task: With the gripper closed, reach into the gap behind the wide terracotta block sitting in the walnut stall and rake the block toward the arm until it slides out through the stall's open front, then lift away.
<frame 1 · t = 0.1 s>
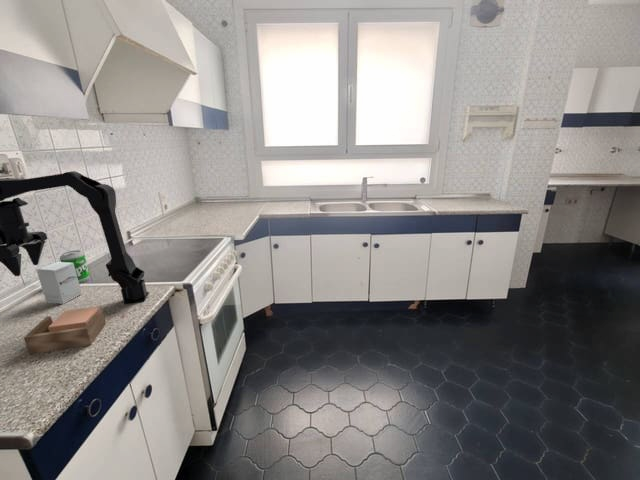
hand: (27, 270, 96), 15 cm above the counter, tool pointing down, fingers open, 9 cm apart
supplement box: (65, 299, 109), on the counter
soda can: (79, 281, 123), on the counter
terracotta block: (78, 329, 91), on the counter
walnut stall: (70, 337, 86), on the counter
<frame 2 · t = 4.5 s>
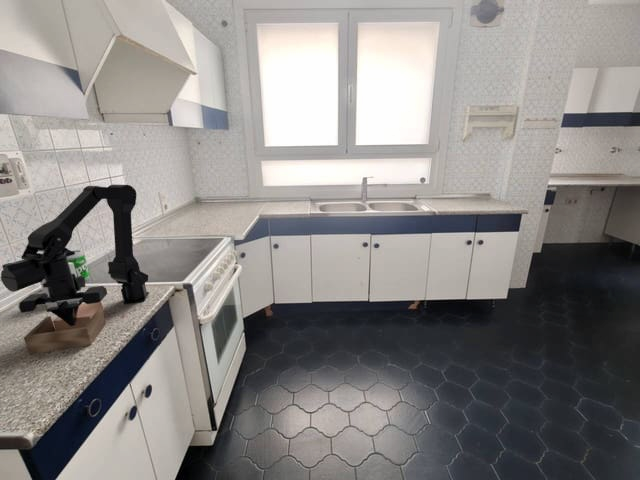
hand: (73, 325, 88), 2 cm above the counter, tool pointing down, fingers closed
terracotta block: (82, 323, 94), on the counter
everything else where it was.
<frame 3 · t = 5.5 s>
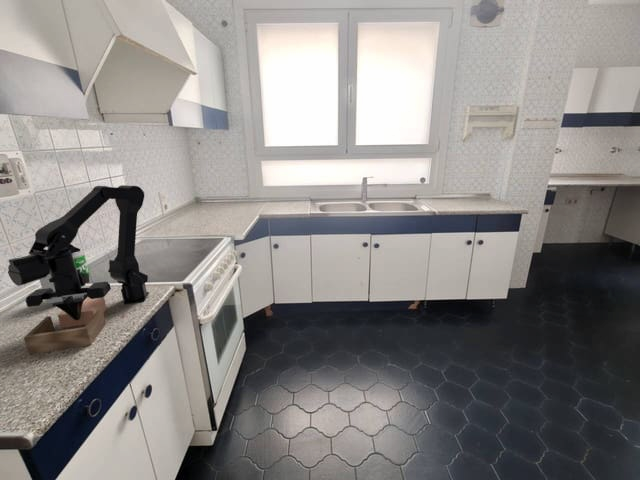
hand: (77, 319, 91), 2 cm above the counter, tool pointing down, fingers closed
terracotta block: (85, 318, 97), on the counter
everything else where it was.
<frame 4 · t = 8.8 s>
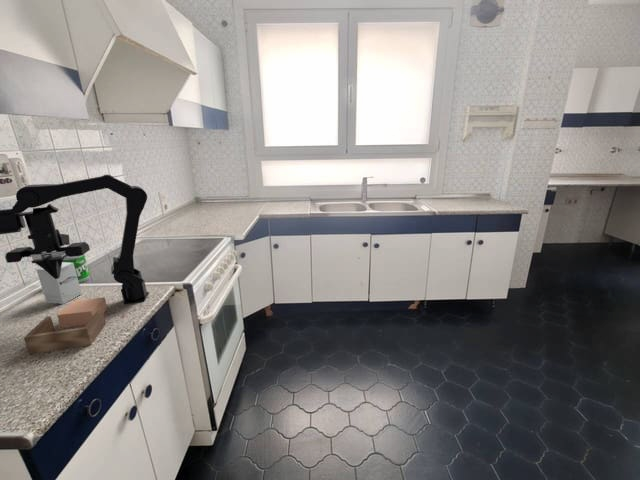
hand: (57, 278, 94), 13 cm above the counter, tool pointing down, fingers closed
nothing on the counter moved.
at the end: terracotta block inside the target area (2.0 cm from its centre), on the counter; terracotta block tilted 0°; terracotta block moved 6.6 cm from its start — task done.
